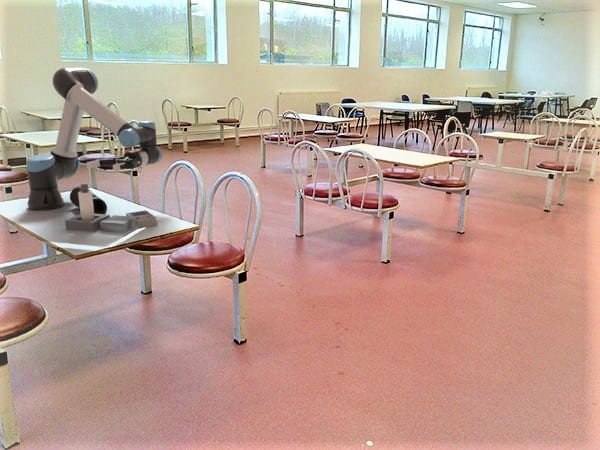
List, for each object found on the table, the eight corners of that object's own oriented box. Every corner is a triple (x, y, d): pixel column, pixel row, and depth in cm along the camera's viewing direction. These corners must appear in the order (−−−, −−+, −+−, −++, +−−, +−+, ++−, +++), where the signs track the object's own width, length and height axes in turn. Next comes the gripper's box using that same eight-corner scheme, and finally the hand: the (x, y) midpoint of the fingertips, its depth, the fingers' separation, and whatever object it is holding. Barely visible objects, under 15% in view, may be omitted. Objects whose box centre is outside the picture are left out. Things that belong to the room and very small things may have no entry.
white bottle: (86, 223, 211) (82, 183, 206) (97, 224, 210) (93, 183, 205) (79, 227, 206) (74, 185, 202) (90, 228, 205) (86, 186, 201)
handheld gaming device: (137, 229, 211) (136, 220, 210) (126, 220, 222) (125, 212, 221) (158, 226, 216) (157, 218, 215) (146, 218, 227) (146, 209, 226)
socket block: (84, 224, 216) (83, 212, 214) (110, 226, 213) (109, 214, 212) (66, 232, 204) (64, 220, 203) (93, 235, 202) (92, 223, 200)
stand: (115, 226, 213) (114, 215, 211) (137, 228, 211) (136, 217, 209) (101, 234, 203) (100, 221, 202) (124, 236, 201) (123, 223, 200)
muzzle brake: (86, 223, 218) (83, 199, 215) (69, 208, 239) (67, 186, 236) (109, 219, 223) (106, 196, 220) (91, 205, 245) (89, 184, 242)
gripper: (159, 169, 226) (125, 178, 207) (113, 165, 235) (77, 173, 216) (157, 152, 223) (124, 160, 205) (111, 148, 233) (75, 155, 214)
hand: (100, 167), depth 210 cm, fingers open, 13 cm apart
